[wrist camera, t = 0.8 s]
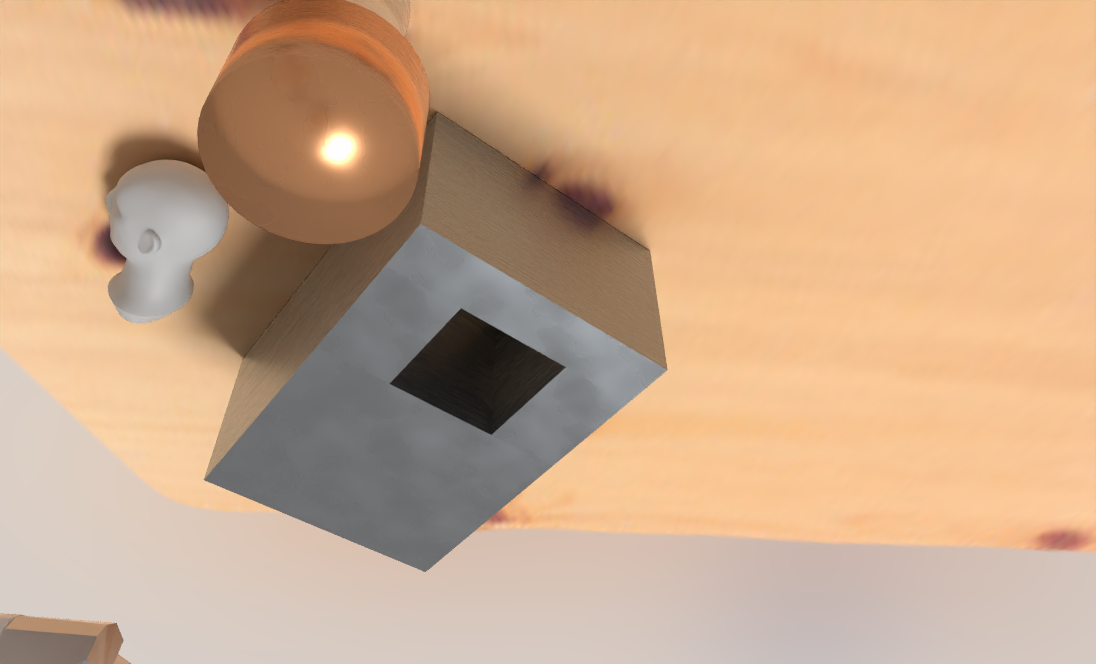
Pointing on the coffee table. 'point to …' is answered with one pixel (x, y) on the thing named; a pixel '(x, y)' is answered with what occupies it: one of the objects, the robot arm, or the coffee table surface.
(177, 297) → the mannequin head
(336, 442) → the block
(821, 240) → the coffee table surface
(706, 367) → the coffee table surface
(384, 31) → the pin
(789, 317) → the coffee table surface
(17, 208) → the coffee table surface
